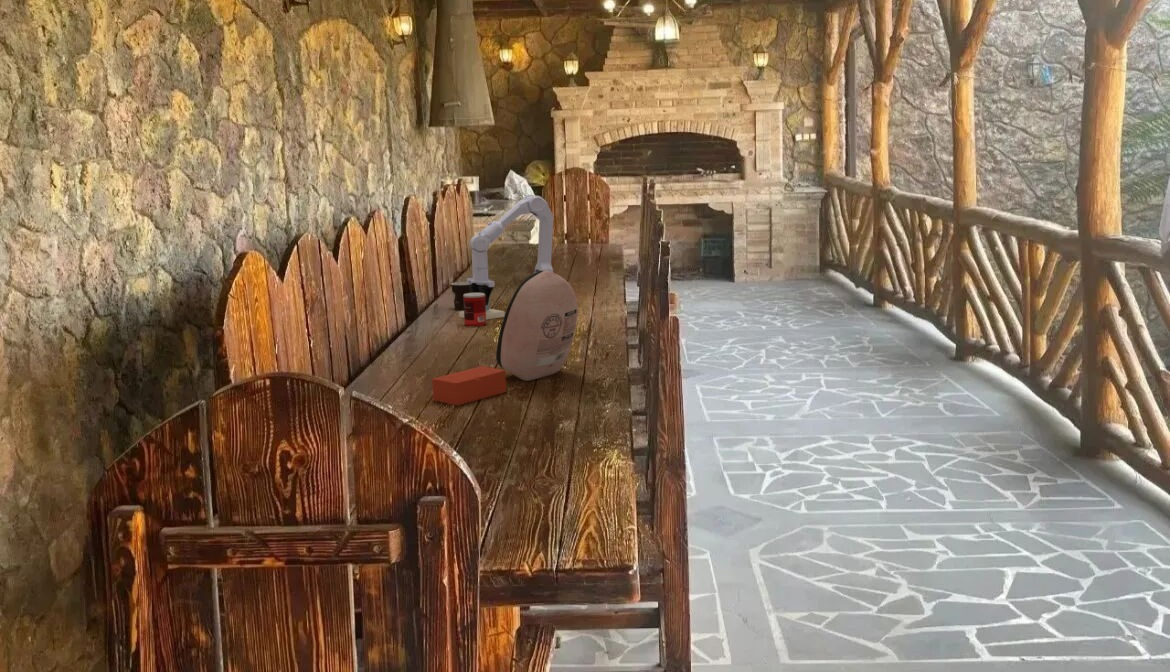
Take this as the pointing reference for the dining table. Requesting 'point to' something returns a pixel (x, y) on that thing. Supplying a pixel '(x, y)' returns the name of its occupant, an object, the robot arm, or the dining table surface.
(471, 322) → the canned food
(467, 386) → the brick
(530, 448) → the dining table surface
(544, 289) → the packaged food
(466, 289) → the coffee mug
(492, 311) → the base tile
